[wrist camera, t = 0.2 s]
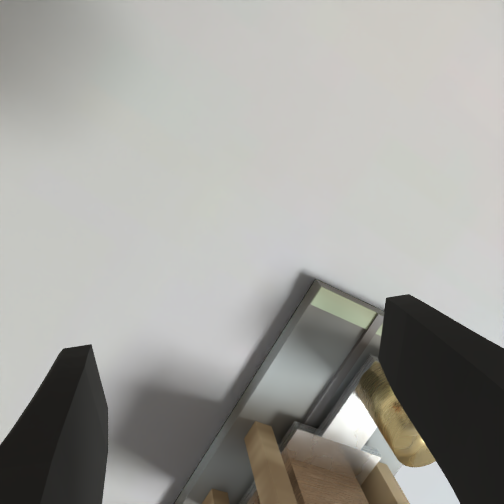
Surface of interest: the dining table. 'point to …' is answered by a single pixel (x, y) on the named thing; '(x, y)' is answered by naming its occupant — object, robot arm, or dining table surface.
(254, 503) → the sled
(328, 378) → the track
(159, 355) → the dining table surface
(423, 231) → the dining table surface
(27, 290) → the dining table surface
